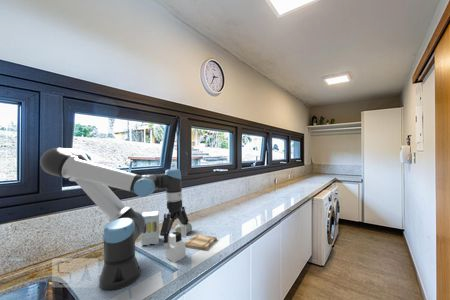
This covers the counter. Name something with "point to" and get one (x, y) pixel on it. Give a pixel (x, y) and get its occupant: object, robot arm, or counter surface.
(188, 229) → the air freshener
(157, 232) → the supplement box
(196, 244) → the trivet
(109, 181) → the robot arm
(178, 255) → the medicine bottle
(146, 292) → the counter surface
